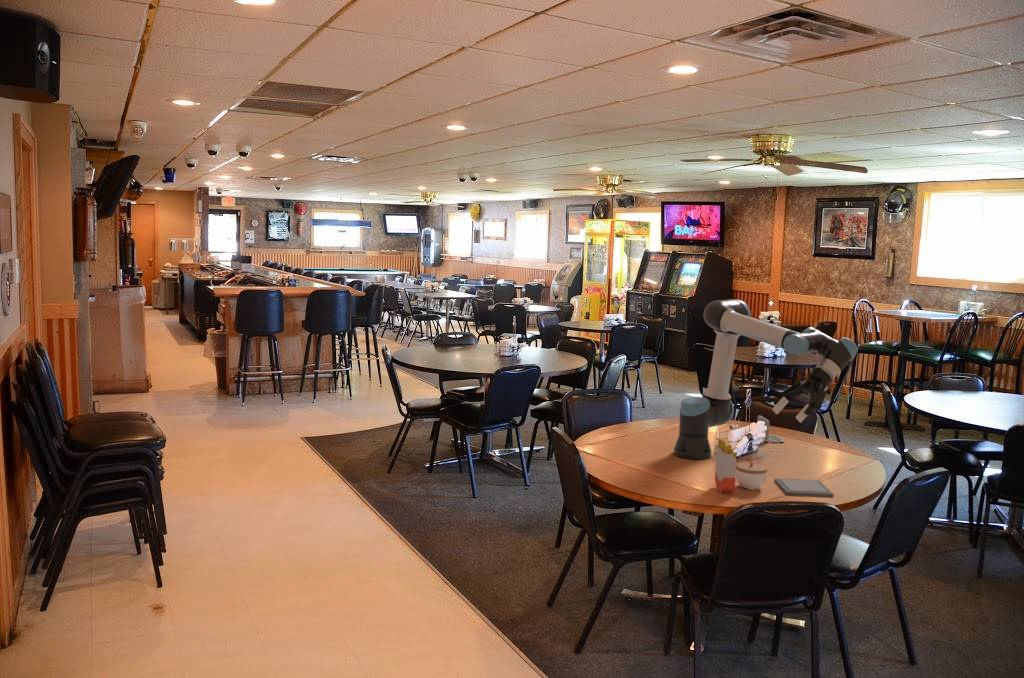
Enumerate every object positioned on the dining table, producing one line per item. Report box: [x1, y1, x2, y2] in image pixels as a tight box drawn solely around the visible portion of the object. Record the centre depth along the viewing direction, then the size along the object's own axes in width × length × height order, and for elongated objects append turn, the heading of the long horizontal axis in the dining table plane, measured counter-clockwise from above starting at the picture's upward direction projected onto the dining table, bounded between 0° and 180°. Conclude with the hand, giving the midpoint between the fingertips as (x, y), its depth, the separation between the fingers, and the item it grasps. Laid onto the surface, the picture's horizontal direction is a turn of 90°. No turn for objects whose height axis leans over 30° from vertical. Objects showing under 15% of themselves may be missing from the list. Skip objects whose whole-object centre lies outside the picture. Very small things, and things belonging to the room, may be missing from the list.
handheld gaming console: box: [756, 415, 786, 443], centre depth 349 cm, size 13×9×10 cm
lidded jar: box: [735, 461, 768, 491], centre depth 278 cm, size 11×11×9 cm
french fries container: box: [714, 437, 738, 493], centre depth 273 cm, size 5×11×18 cm, turn 0°
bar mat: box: [774, 477, 834, 498], centre depth 278 cm, size 16×16×1 cm
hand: (786, 415), depth 279 cm, fingers open, 13 cm apart
